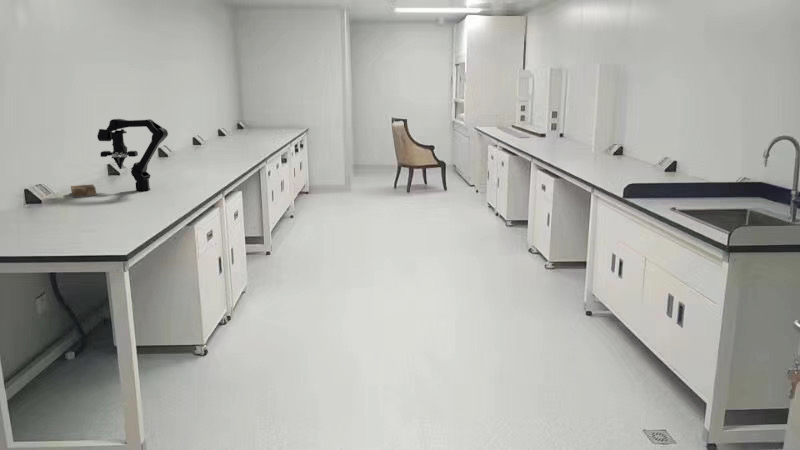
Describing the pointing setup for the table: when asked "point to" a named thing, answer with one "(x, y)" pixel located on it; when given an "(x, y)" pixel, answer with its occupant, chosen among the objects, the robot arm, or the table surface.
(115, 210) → the table surface
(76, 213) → the table surface
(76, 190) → the walnut block
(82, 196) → the mat
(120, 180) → the table surface
